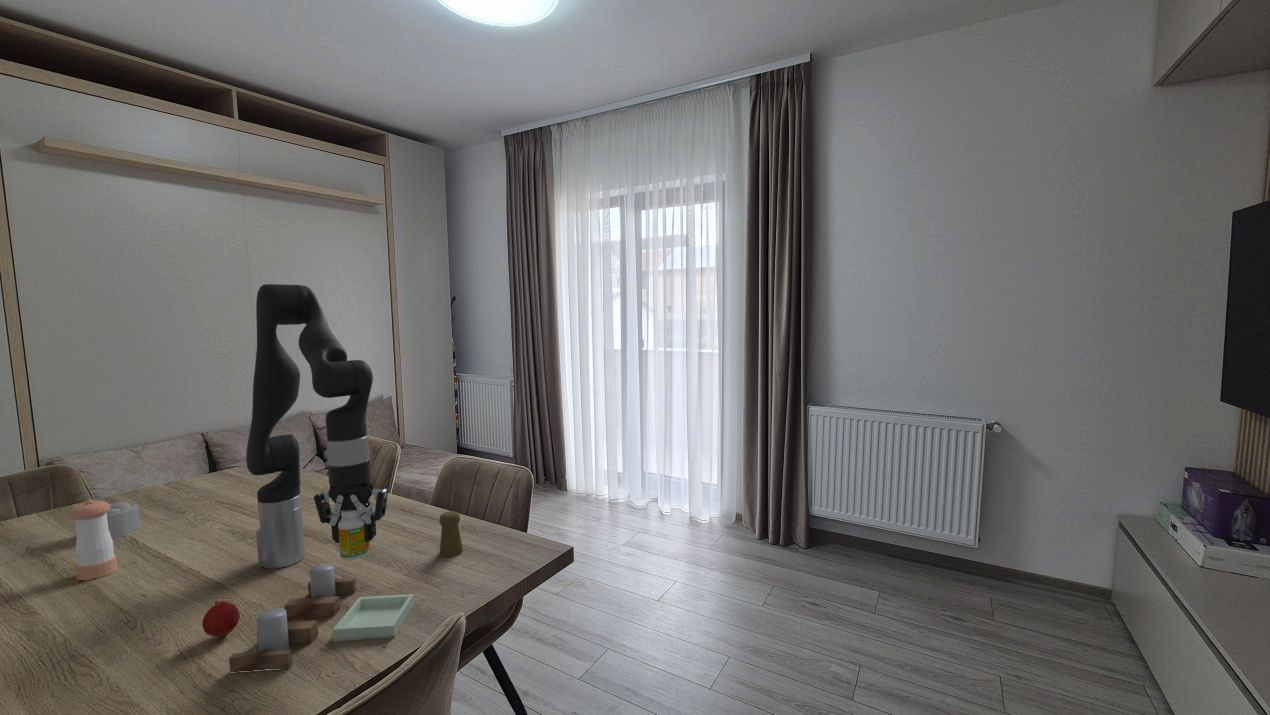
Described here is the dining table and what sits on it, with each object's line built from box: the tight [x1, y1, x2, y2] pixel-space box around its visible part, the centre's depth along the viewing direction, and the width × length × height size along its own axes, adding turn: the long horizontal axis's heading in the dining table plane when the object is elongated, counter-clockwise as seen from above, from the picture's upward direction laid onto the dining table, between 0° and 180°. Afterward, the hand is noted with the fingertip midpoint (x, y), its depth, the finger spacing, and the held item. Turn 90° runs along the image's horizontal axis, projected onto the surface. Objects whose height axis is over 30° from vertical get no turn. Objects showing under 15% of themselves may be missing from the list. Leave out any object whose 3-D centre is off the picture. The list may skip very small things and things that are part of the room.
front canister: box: [255, 607, 290, 652], centre depth 98 cm, size 5×5×8 cm
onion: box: [201, 598, 241, 639], centre depth 104 cm, size 6×6×8 cm
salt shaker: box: [69, 499, 118, 581], centre depth 130 cm, size 7×7×19 cm
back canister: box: [309, 562, 337, 598], centre depth 116 cm, size 5×5×8 cm
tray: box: [332, 593, 415, 642], centre depth 108 cm, size 12×12×2 cm
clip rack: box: [228, 577, 357, 672], centre depth 107 cm, size 10×27×3 cm, turn 4°
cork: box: [438, 510, 464, 559], centre depth 139 cm, size 6×6×11 cm
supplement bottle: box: [338, 509, 371, 561], centre depth 105 cm, size 5×5×10 cm
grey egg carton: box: [107, 501, 141, 539], centre depth 155 cm, size 10×13×9 cm
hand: (354, 540), depth 105 cm, fingers closed on supplement bottle, 5 cm apart
